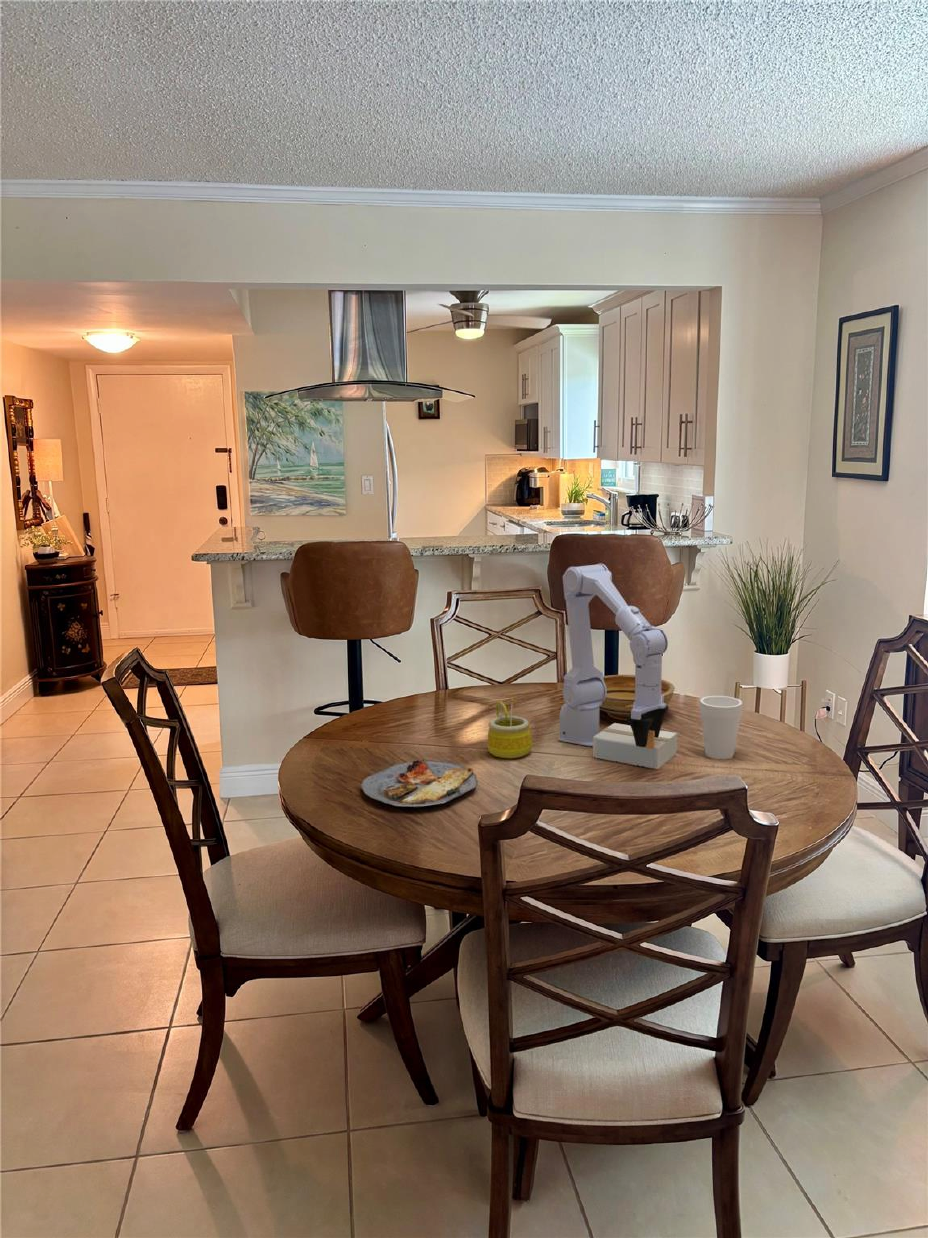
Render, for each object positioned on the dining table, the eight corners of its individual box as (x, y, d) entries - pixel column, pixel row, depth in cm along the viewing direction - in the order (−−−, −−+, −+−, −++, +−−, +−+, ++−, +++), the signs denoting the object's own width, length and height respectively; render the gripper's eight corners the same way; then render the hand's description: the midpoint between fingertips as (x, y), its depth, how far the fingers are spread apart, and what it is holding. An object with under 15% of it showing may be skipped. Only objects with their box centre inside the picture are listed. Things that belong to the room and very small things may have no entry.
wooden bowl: (574, 700, 254) (573, 673, 253) (657, 696, 256) (657, 670, 254) (596, 733, 225) (596, 703, 224) (689, 729, 227) (690, 699, 225)
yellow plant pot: (529, 762, 207) (528, 713, 205) (483, 760, 209) (482, 711, 207) (536, 743, 219) (535, 697, 217) (492, 742, 221) (491, 696, 219)
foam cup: (740, 749, 211) (741, 697, 209) (741, 763, 202) (743, 708, 200) (698, 746, 214) (700, 695, 211) (698, 760, 205) (699, 706, 202)
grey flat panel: (595, 757, 207) (595, 722, 205) (597, 756, 208) (597, 721, 206) (652, 768, 199) (653, 732, 198) (654, 767, 200) (654, 731, 198)
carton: (593, 757, 209) (593, 736, 208) (614, 742, 218) (614, 722, 217) (657, 769, 200) (657, 747, 199) (676, 753, 210) (676, 732, 209)
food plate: (419, 761, 209) (419, 747, 208) (498, 784, 195) (497, 769, 194) (342, 797, 190) (340, 782, 190) (422, 826, 176) (421, 809, 175)
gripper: (653, 693, 189) (652, 754, 191) (677, 677, 201) (675, 735, 203) (622, 689, 193) (621, 748, 195) (647, 674, 204) (646, 730, 207)
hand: (647, 741), depth 199 cm, fingers open, 7 cm apart
